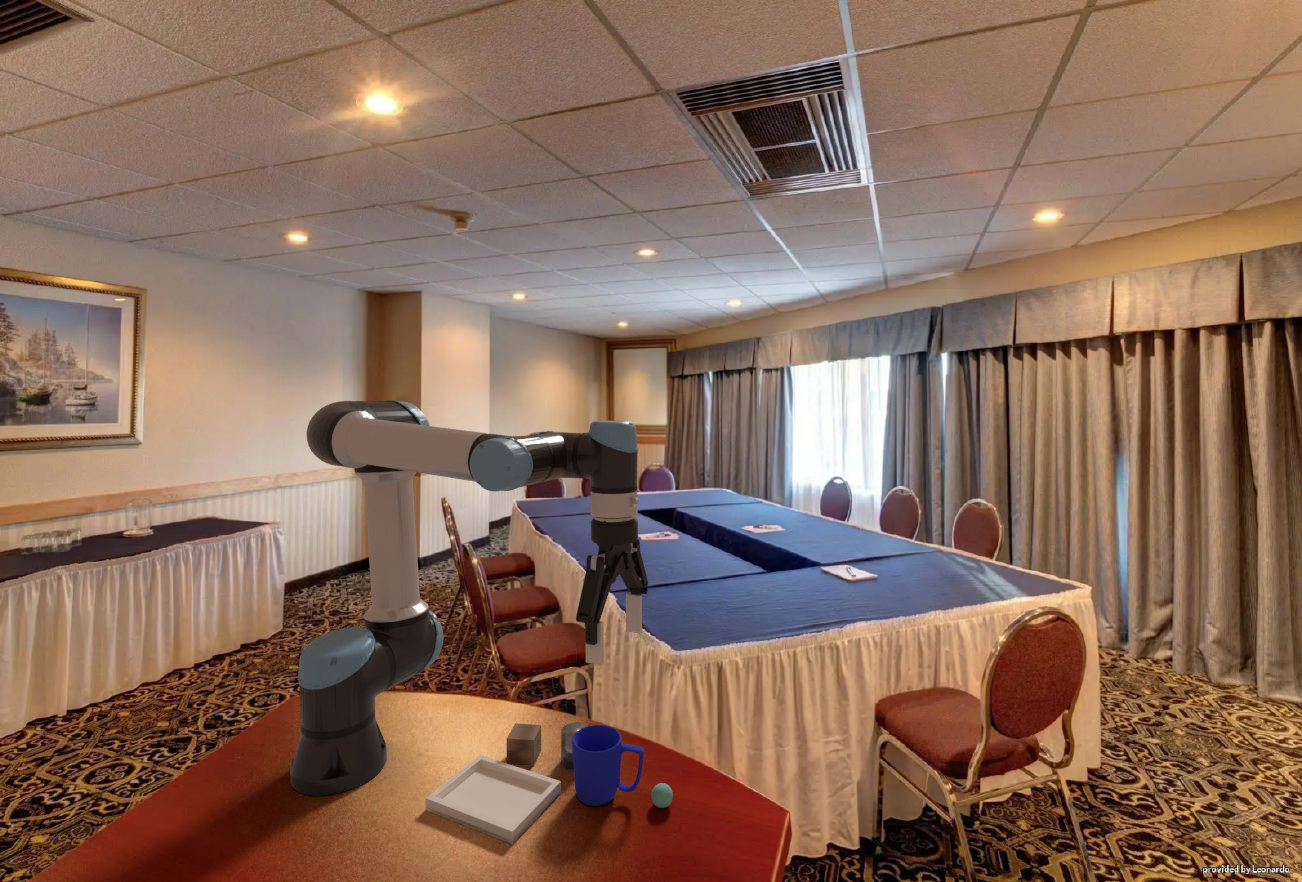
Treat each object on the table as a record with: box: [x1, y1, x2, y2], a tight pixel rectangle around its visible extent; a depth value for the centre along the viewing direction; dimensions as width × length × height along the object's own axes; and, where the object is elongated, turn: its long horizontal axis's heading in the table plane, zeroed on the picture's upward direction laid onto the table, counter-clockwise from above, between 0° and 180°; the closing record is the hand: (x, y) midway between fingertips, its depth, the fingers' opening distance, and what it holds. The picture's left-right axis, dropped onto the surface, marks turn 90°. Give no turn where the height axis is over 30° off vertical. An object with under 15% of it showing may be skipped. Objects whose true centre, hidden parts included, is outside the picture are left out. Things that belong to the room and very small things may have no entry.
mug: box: [572, 724, 645, 807], centre depth 101 cm, size 8×12×10 cm
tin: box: [560, 722, 588, 771], centre depth 110 cm, size 5×5×6 cm
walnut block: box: [506, 723, 542, 767], centre depth 111 cm, size 5×5×5 cm
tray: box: [425, 754, 562, 845], centre depth 99 cm, size 17×13×2 cm
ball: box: [650, 782, 674, 809], centre depth 99 cm, size 4×4×4 cm
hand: (615, 646), depth 99 cm, fingers open, 13 cm apart
